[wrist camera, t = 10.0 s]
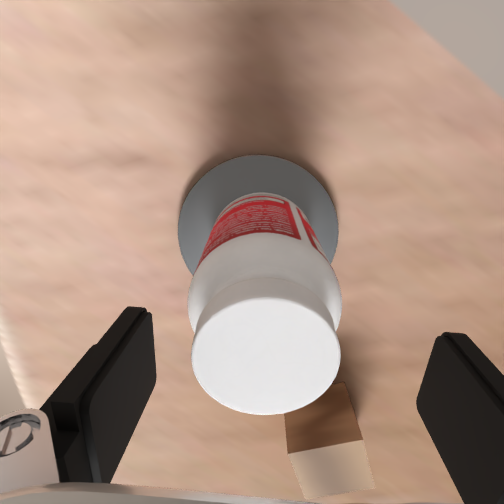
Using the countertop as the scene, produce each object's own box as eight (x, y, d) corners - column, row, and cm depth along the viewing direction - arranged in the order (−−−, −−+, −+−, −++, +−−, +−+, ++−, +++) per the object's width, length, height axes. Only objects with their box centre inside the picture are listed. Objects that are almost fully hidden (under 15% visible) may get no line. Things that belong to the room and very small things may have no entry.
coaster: (348, 159, 19) (350, 160, 18) (324, 306, 23) (326, 310, 22) (177, 150, 19) (174, 150, 18) (182, 298, 23) (180, 303, 22)
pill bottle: (194, 250, 21) (130, 379, 10) (248, 169, 19) (236, 230, 8) (273, 299, 22) (286, 457, 12) (332, 228, 20) (410, 344, 10)
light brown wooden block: (344, 381, 25) (363, 439, 21) (355, 425, 27) (375, 487, 22) (282, 394, 26) (287, 454, 21) (297, 436, 28) (305, 499, 23)
